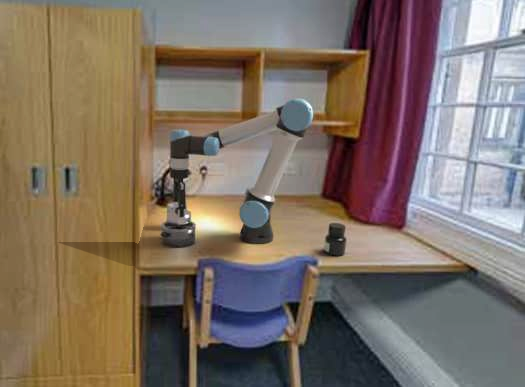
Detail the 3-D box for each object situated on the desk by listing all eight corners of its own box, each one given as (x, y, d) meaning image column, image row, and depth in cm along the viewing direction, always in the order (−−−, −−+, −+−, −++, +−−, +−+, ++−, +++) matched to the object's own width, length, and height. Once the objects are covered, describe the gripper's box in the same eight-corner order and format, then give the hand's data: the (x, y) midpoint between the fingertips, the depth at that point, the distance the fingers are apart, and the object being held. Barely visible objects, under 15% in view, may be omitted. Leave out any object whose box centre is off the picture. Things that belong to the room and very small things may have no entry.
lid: (195, 222, 177) (196, 207, 176) (180, 228, 169) (180, 213, 167) (177, 218, 182) (177, 203, 180) (161, 223, 173) (161, 208, 172)
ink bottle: (327, 246, 182) (329, 220, 179) (347, 250, 179) (350, 224, 176) (321, 254, 173) (323, 226, 170) (342, 258, 170) (345, 230, 167)
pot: (179, 233, 188) (180, 216, 187) (204, 239, 182) (205, 222, 180) (150, 244, 173) (150, 226, 171) (177, 252, 166) (177, 233, 164)
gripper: (165, 163, 179) (165, 213, 184) (174, 173, 158) (174, 229, 163) (183, 163, 181) (182, 212, 187) (194, 173, 161) (193, 228, 166)
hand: (178, 220), depth 175 cm, fingers closed on lid, 10 cm apart
